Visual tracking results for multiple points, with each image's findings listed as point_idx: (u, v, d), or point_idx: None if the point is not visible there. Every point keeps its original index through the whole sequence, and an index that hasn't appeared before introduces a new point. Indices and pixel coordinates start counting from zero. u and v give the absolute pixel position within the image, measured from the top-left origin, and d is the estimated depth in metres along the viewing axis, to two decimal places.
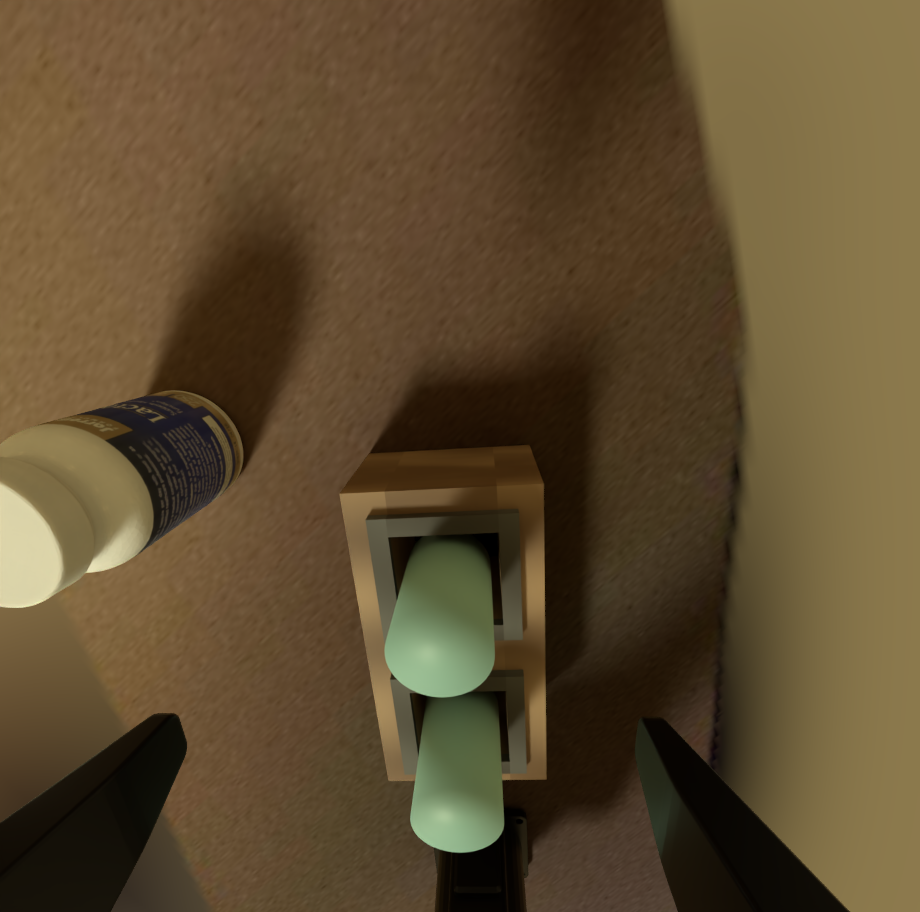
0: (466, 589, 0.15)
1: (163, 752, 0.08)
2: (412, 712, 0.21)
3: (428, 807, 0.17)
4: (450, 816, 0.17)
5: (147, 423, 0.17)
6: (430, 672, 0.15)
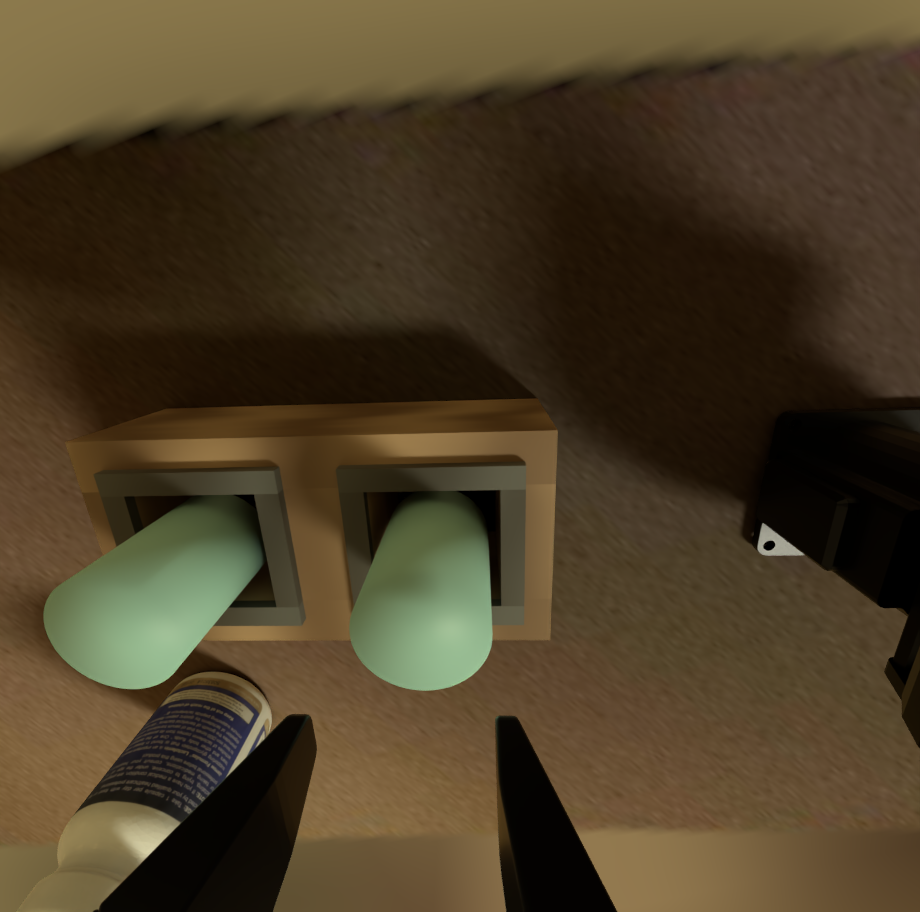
0: None
1: (302, 754, 0.08)
2: None
3: (391, 667, 0.11)
4: (410, 642, 0.11)
5: (113, 765, 0.20)
6: (144, 646, 0.12)
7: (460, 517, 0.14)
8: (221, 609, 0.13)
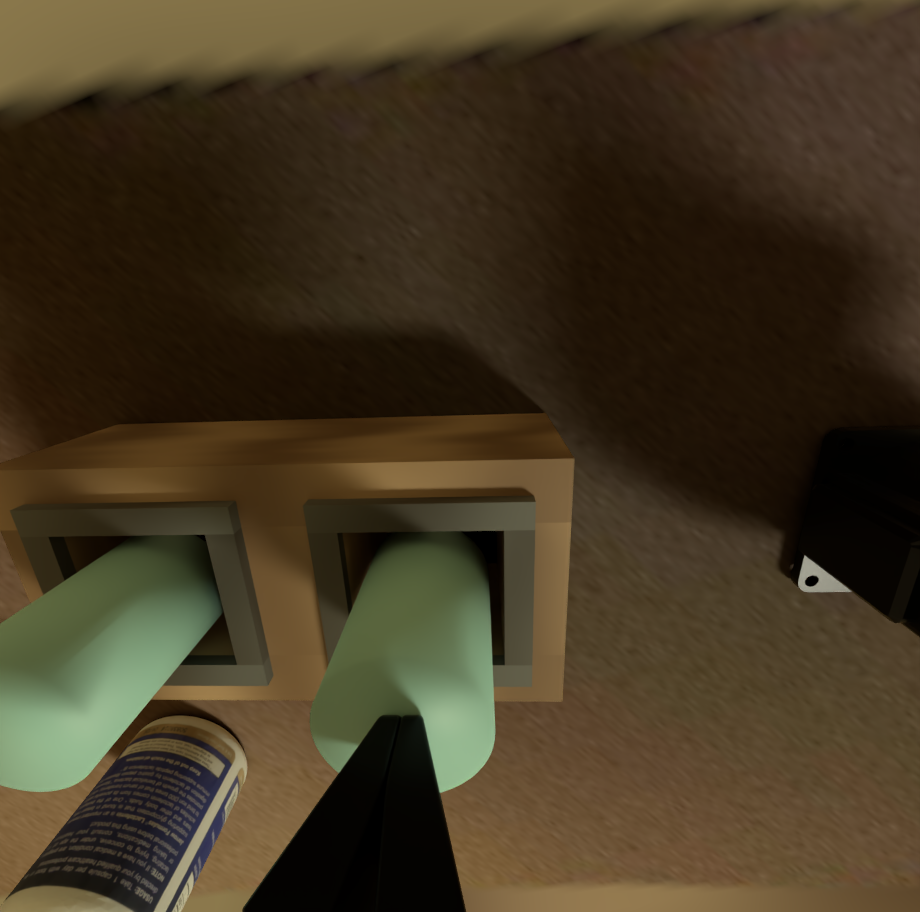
0: None
1: None
2: None
3: None
4: None
5: (59, 832, 0.17)
6: (48, 742, 0.09)
7: (455, 564, 0.11)
8: (160, 680, 0.11)
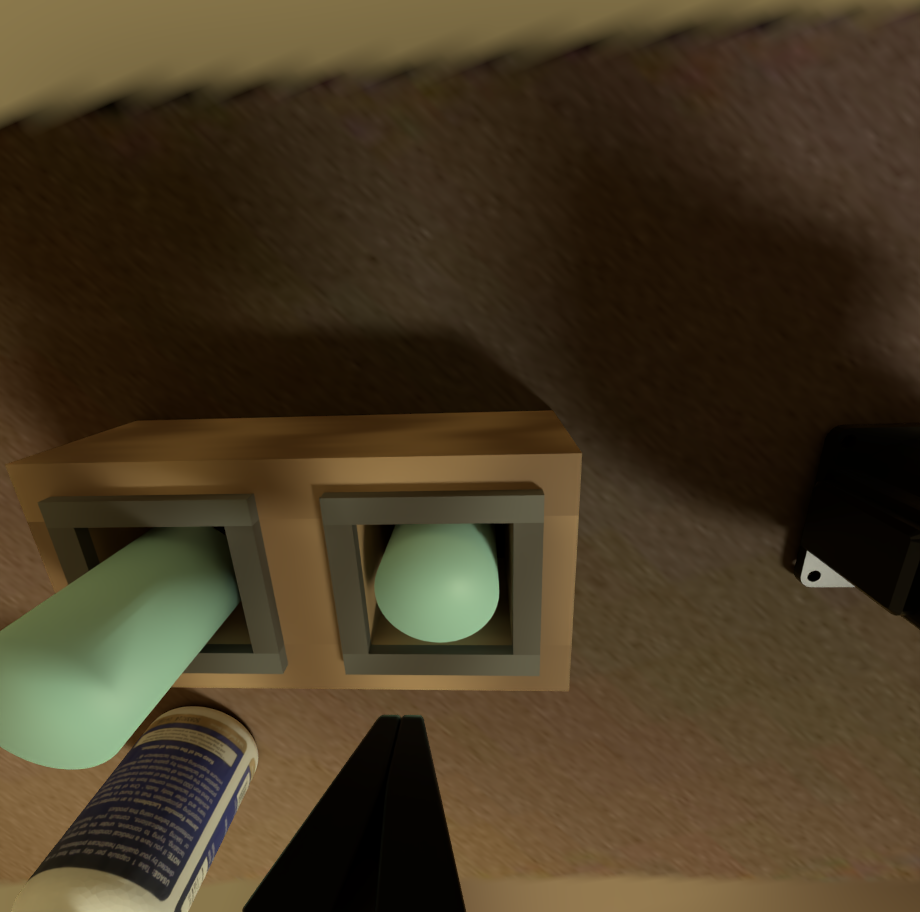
0: None
1: None
2: (409, 652, 0.14)
3: (410, 620, 0.13)
4: (427, 598, 0.13)
5: (77, 817, 0.18)
6: (80, 721, 0.09)
7: None
8: (182, 665, 0.11)
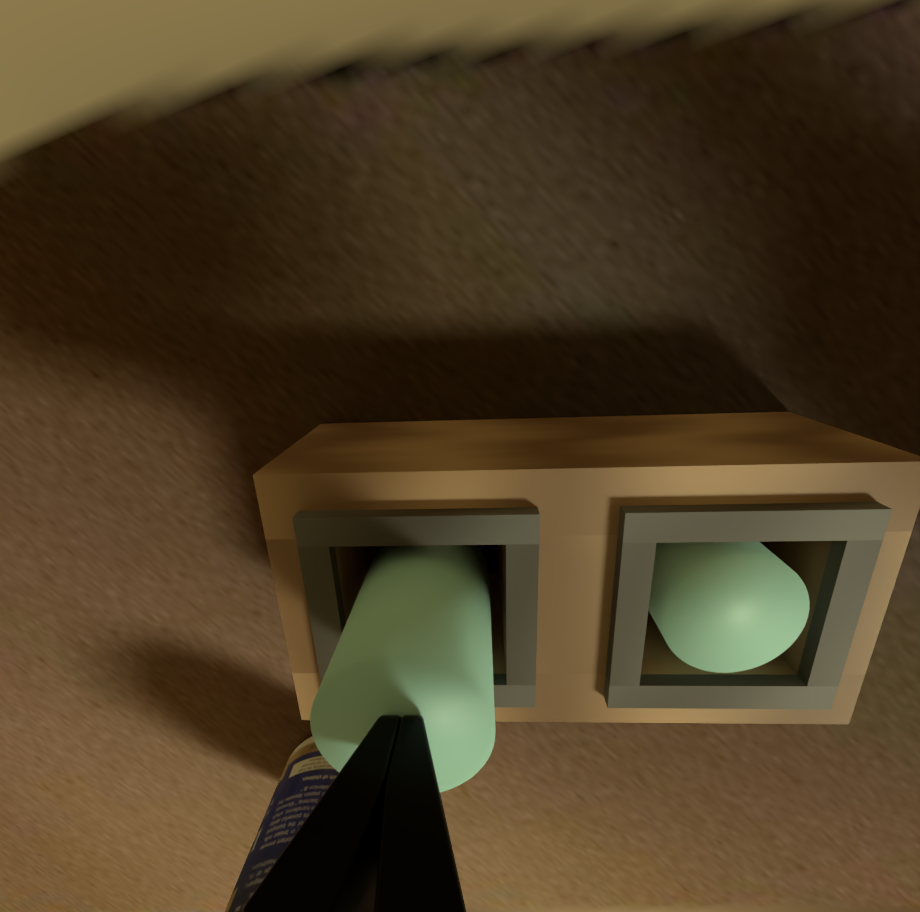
0: (338, 642, 0.10)
1: None
2: (685, 683, 0.12)
3: (696, 649, 0.12)
4: (722, 624, 0.11)
5: (249, 857, 0.16)
6: (440, 744, 0.09)
7: None
8: None
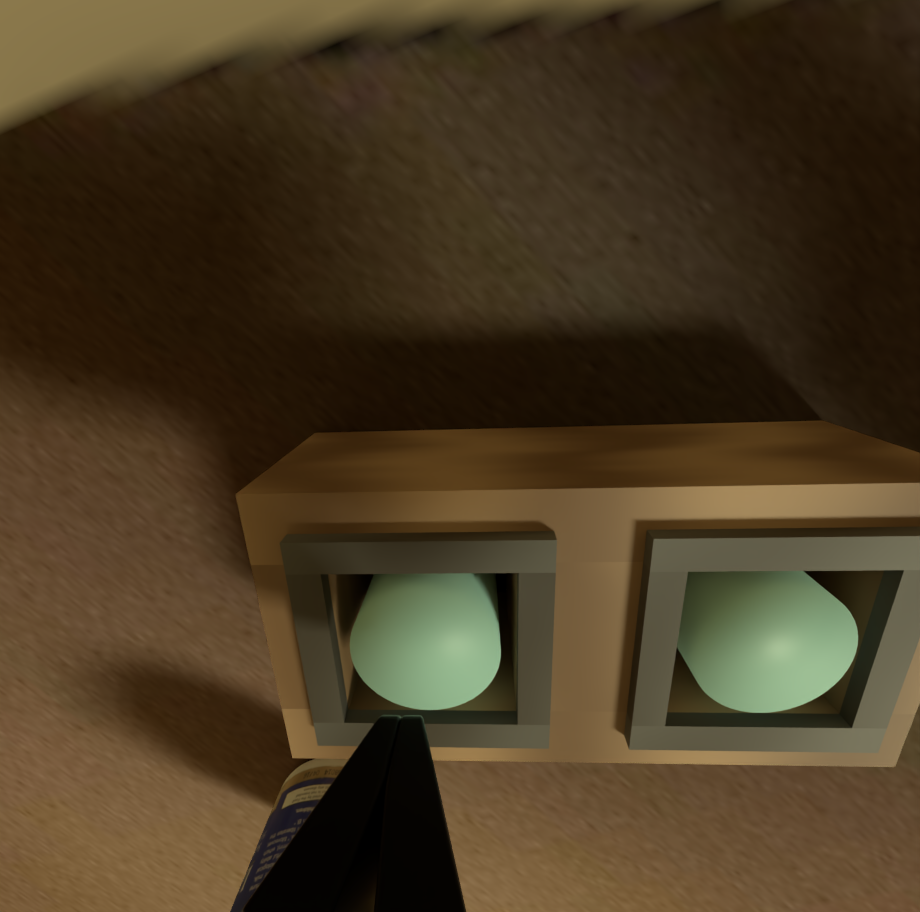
0: (370, 585, 0.12)
1: None
2: (715, 723, 0.11)
3: (729, 687, 0.10)
4: (759, 661, 0.10)
5: (238, 899, 0.15)
6: (455, 664, 0.11)
7: None
8: None
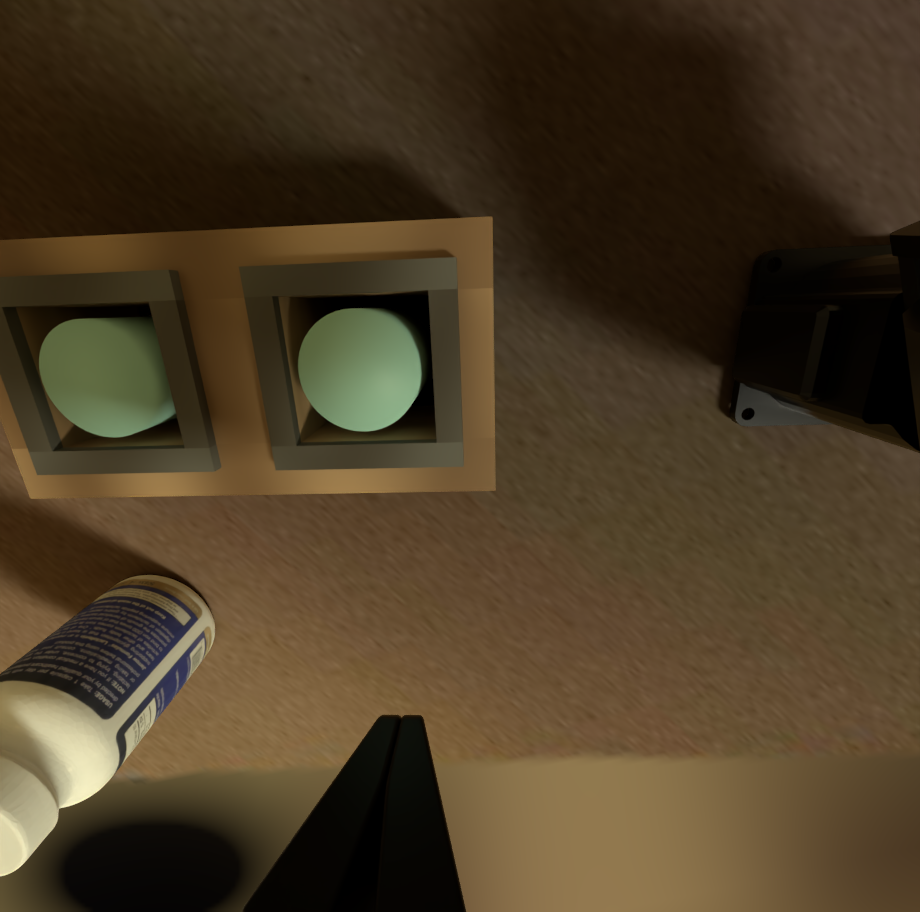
0: None
1: None
2: (336, 444, 0.14)
3: (335, 407, 0.13)
4: (350, 380, 0.13)
5: None
6: (124, 391, 0.14)
7: (404, 315, 0.16)
8: None
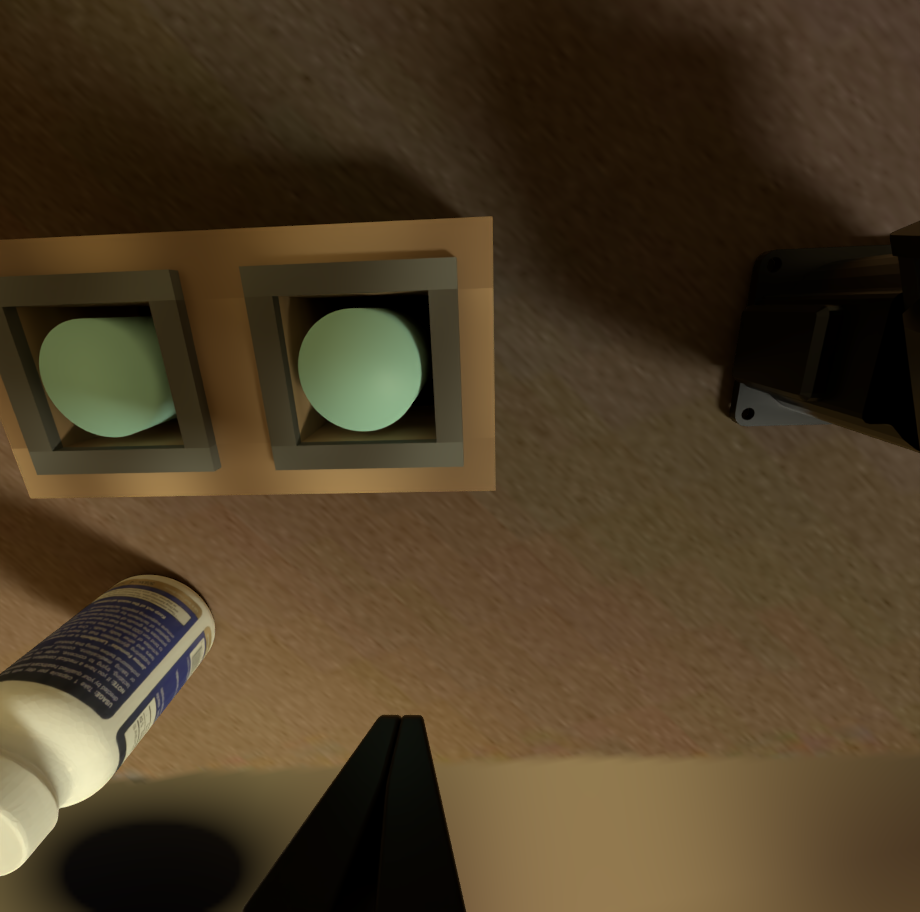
0: None
1: None
2: (336, 444, 0.14)
3: (335, 406, 0.13)
4: (350, 380, 0.13)
5: None
6: (124, 391, 0.14)
7: (404, 314, 0.16)
8: None
